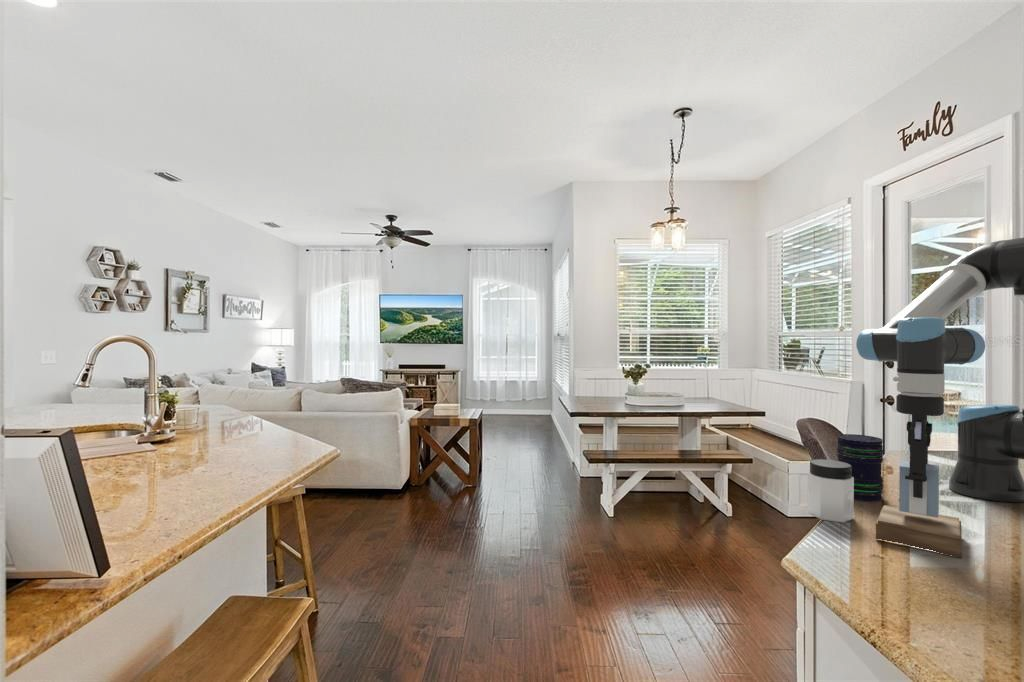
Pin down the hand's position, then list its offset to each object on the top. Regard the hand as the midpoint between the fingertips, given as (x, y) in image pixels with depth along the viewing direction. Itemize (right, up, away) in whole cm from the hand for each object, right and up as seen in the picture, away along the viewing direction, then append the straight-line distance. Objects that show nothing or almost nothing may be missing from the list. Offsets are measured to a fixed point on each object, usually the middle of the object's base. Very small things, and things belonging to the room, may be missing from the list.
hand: (918, 508), depth 104 cm
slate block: (0, 0, 0) cm, 0 cm away
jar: (-9, -6, +13) cm, 18 cm away
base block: (0, -6, 0) cm, 6 cm away
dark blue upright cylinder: (+7, -6, +28) cm, 30 cm away
